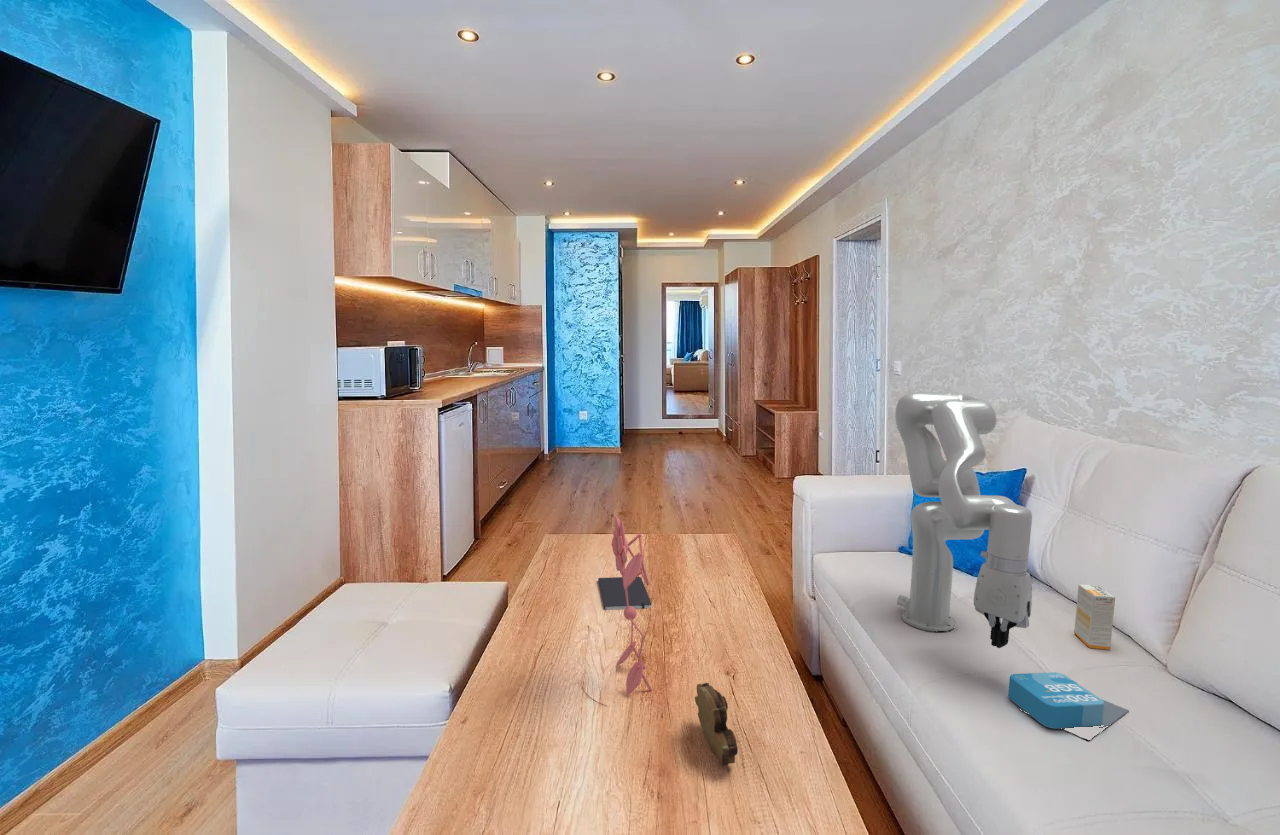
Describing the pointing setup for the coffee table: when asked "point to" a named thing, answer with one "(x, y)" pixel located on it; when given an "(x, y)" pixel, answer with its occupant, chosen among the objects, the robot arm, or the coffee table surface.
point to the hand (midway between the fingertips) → (998, 645)
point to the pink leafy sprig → (630, 613)
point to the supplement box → (1094, 616)
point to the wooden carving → (716, 723)
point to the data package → (1056, 700)
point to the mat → (1110, 713)
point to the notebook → (623, 593)
